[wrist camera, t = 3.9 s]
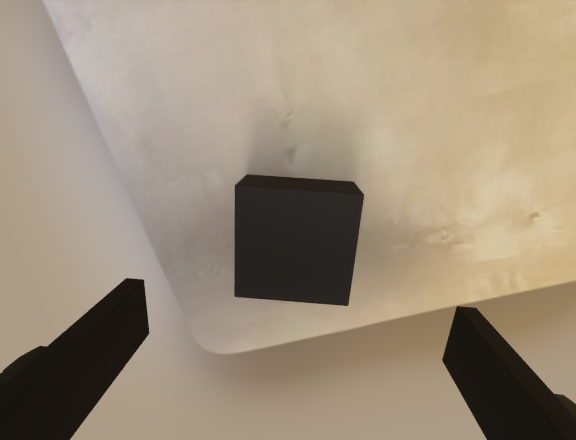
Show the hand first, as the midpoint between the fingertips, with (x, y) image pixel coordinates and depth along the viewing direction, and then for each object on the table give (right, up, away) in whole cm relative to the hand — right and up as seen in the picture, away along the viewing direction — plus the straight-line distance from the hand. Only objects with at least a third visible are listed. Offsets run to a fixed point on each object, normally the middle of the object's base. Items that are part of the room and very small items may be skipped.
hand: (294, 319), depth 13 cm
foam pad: (0, +4, +11) cm, 11 cm away
